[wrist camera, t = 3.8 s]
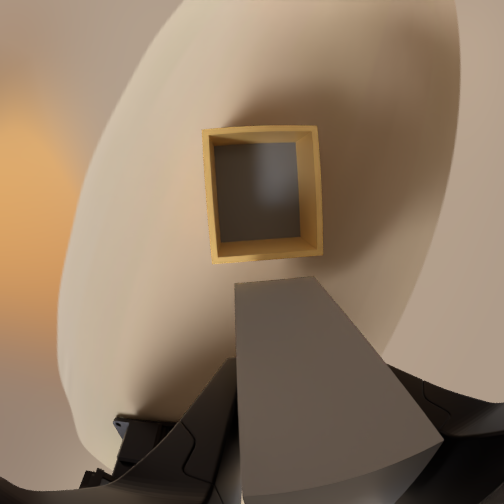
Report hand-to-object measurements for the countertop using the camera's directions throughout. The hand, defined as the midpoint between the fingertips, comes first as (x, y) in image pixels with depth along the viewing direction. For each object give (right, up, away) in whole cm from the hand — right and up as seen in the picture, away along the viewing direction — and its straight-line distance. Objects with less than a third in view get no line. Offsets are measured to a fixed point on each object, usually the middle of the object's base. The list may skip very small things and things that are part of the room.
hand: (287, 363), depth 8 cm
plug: (0, +1, +2) cm, 2 cm away
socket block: (-1, +7, +6) cm, 9 cm away
